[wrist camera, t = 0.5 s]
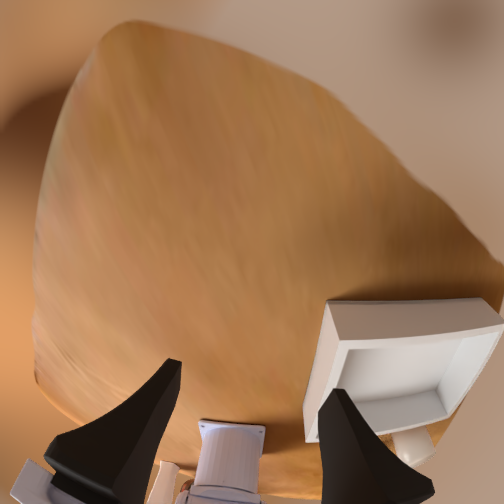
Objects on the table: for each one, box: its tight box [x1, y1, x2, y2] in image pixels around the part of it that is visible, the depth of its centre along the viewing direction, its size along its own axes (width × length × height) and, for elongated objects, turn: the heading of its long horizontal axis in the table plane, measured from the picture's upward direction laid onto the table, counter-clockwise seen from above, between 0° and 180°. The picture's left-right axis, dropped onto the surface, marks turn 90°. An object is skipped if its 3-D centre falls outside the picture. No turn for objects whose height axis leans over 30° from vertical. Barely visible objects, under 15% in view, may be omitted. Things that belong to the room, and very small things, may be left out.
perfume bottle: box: [147, 461, 180, 504], centre depth 28 cm, size 5×4×15 cm
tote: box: [303, 297, 504, 443], centre depth 20 cm, size 14×18×5 cm
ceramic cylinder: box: [391, 425, 436, 468], centre depth 24 cm, size 5×5×7 cm
